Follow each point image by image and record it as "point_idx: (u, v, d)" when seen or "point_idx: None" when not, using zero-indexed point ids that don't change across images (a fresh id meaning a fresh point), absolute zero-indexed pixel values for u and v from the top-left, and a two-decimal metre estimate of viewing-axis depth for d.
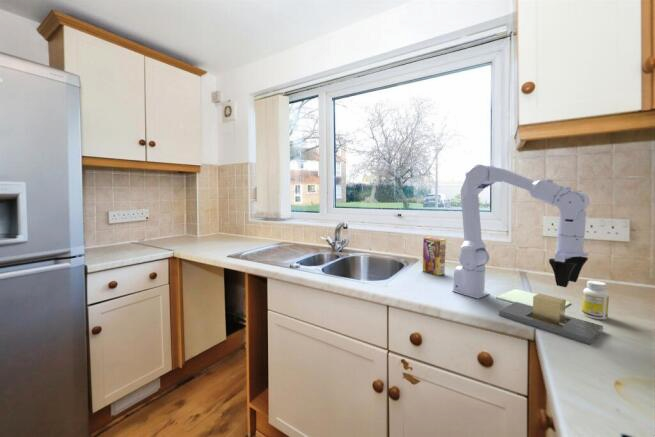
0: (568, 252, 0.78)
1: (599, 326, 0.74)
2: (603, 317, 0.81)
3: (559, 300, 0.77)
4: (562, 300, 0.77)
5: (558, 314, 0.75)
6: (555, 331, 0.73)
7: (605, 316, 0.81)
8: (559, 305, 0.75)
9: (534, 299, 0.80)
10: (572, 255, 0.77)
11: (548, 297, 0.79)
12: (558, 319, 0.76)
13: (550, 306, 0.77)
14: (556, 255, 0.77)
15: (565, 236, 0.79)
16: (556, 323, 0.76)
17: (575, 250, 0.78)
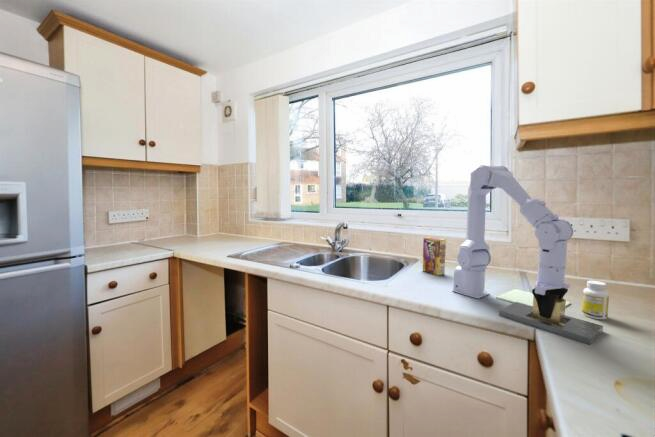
0: (549, 284, 0.76)
1: (599, 326, 0.74)
2: (603, 317, 0.81)
3: (559, 300, 0.77)
4: (562, 300, 0.77)
5: (558, 314, 0.75)
6: (555, 331, 0.73)
7: (605, 316, 0.81)
8: (559, 305, 0.75)
9: (534, 299, 0.80)
10: (553, 287, 0.74)
11: None
12: (558, 319, 0.76)
13: None
14: (536, 287, 0.75)
15: (546, 267, 0.76)
16: (556, 323, 0.76)
17: (555, 282, 0.75)
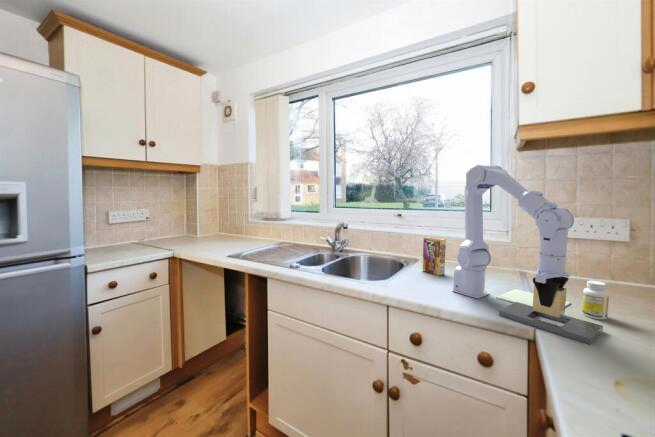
0: (549, 272, 0.76)
1: (599, 326, 0.74)
2: (603, 317, 0.81)
3: (559, 288, 0.77)
4: (563, 289, 0.77)
5: (559, 303, 0.75)
6: (555, 331, 0.73)
7: (605, 316, 0.81)
8: (560, 293, 0.75)
9: (535, 288, 0.79)
10: (553, 276, 0.74)
11: None
12: (559, 308, 0.75)
13: None
14: (537, 276, 0.74)
15: (546, 256, 0.76)
16: (557, 312, 0.76)
17: (556, 270, 0.75)
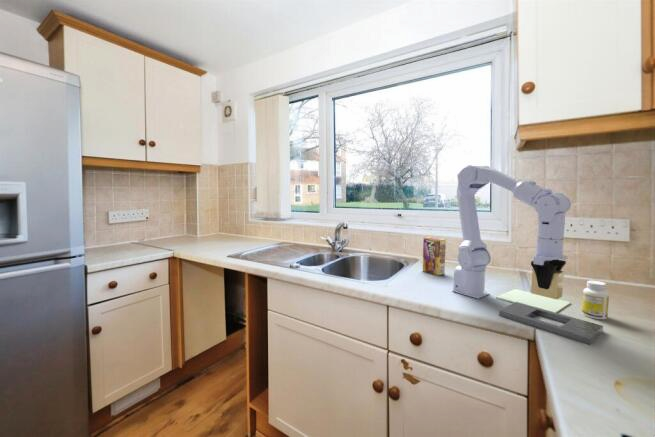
0: (547, 255, 0.78)
1: (599, 326, 0.74)
2: (603, 317, 0.81)
3: (557, 271, 0.79)
4: (560, 271, 0.79)
5: (556, 285, 0.77)
6: (555, 331, 0.73)
7: (605, 316, 0.81)
8: (557, 276, 0.77)
9: (533, 271, 0.82)
10: (551, 258, 0.76)
11: None
12: (556, 289, 0.78)
13: None
14: (535, 258, 0.77)
15: (544, 239, 0.78)
16: (554, 294, 0.78)
17: (554, 253, 0.77)
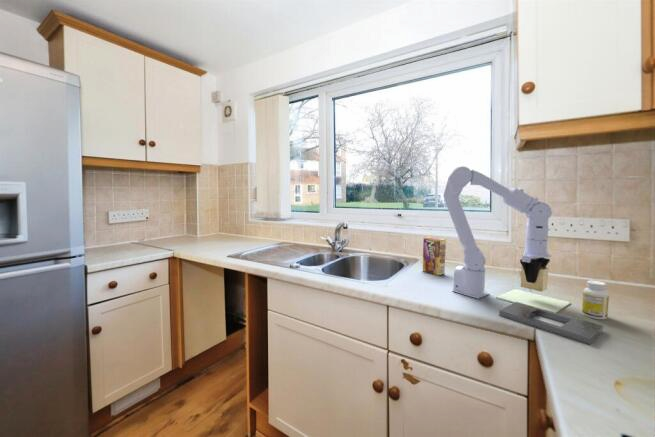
0: (534, 254, 0.92)
1: (599, 326, 0.74)
2: (603, 317, 0.81)
3: (542, 268, 0.92)
4: (545, 268, 0.92)
5: (542, 279, 0.91)
6: (555, 331, 0.73)
7: (605, 316, 0.81)
8: (542, 271, 0.91)
9: (522, 268, 0.95)
10: (536, 256, 0.90)
11: None
12: (542, 283, 0.91)
13: None
14: (523, 256, 0.90)
15: (531, 240, 0.92)
16: (540, 287, 0.91)
17: (539, 252, 0.91)
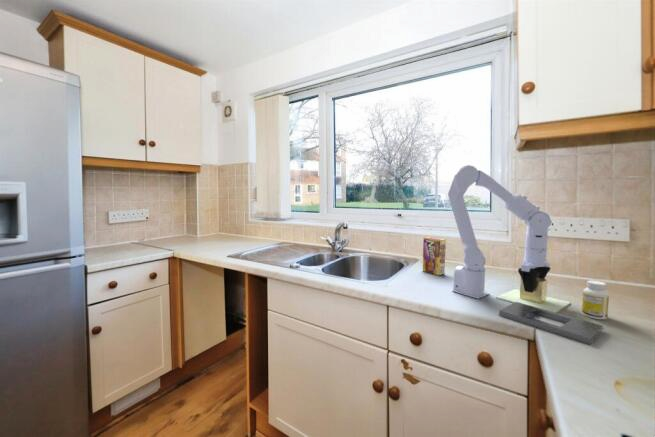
0: (533, 263, 0.92)
1: (599, 326, 0.74)
2: (603, 317, 0.81)
3: (541, 280, 0.93)
4: (544, 280, 0.93)
5: (540, 291, 0.91)
6: (555, 331, 0.73)
7: (605, 316, 0.81)
8: (541, 284, 0.91)
9: (521, 280, 0.96)
10: (536, 266, 0.90)
11: None
12: (541, 295, 0.91)
13: None
14: (522, 266, 0.90)
15: (530, 249, 0.92)
16: (539, 299, 0.92)
17: (538, 261, 0.91)
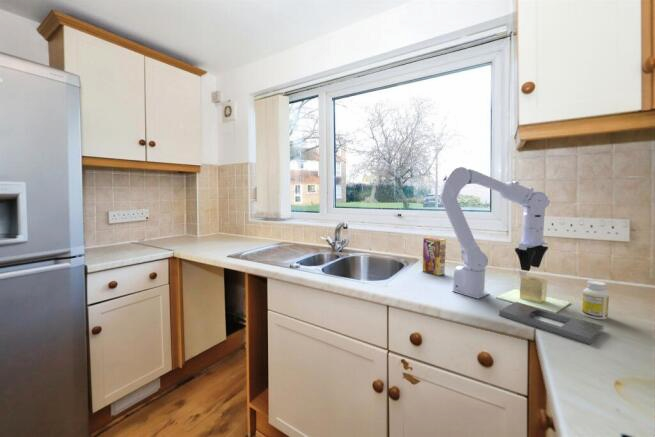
0: (530, 242, 0.95)
1: (599, 326, 0.74)
2: (603, 317, 0.81)
3: (541, 280, 0.93)
4: (544, 280, 0.93)
5: (540, 291, 0.91)
6: (555, 331, 0.73)
7: (605, 316, 0.81)
8: (541, 284, 0.91)
9: (521, 280, 0.96)
10: (533, 244, 0.93)
11: (533, 278, 0.95)
12: (541, 295, 0.91)
13: (534, 285, 0.93)
14: (520, 244, 0.93)
15: (528, 229, 0.95)
16: (539, 299, 0.92)
17: (535, 240, 0.94)
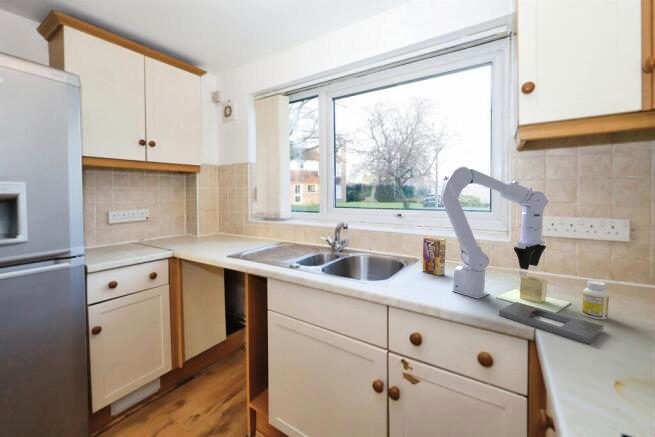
0: (529, 241, 0.96)
1: (599, 326, 0.74)
2: (603, 317, 0.81)
3: (541, 280, 0.93)
4: (544, 280, 0.93)
5: (540, 291, 0.91)
6: (555, 331, 0.73)
7: (605, 316, 0.81)
8: (541, 284, 0.91)
9: (521, 280, 0.96)
10: (531, 243, 0.94)
11: (533, 278, 0.95)
12: (541, 295, 0.91)
13: (534, 285, 0.93)
14: (518, 243, 0.95)
15: (526, 228, 0.96)
16: (539, 299, 0.92)
17: (534, 239, 0.95)
